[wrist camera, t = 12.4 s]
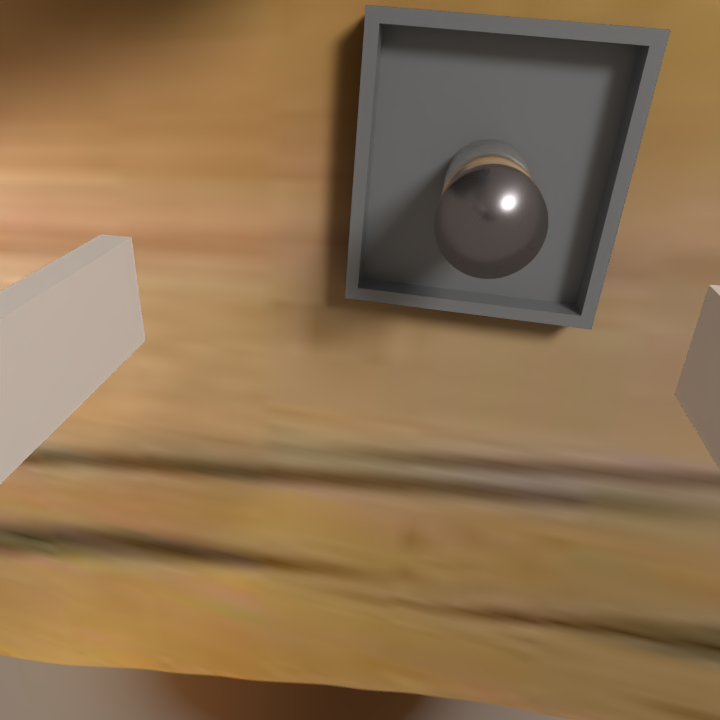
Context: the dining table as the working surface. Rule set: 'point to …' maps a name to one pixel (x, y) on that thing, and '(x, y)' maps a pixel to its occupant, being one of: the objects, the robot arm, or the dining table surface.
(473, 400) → the dining table surface
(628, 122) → the tray
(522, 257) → the shaker
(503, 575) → the dining table surface
